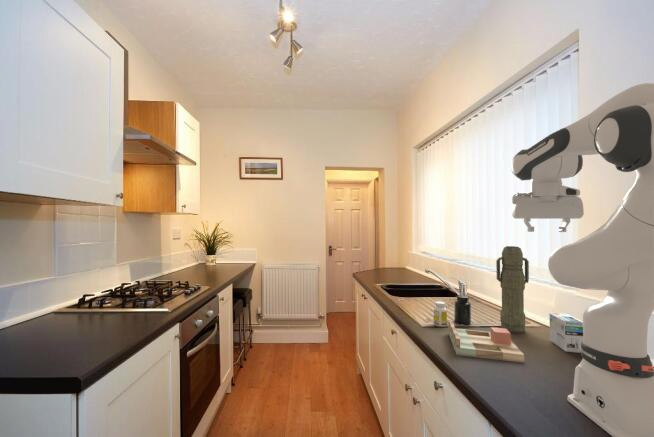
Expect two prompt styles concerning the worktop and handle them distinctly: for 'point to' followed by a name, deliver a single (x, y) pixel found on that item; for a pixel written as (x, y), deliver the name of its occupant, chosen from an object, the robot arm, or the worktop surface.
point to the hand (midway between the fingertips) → (546, 231)
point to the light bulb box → (566, 332)
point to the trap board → (482, 345)
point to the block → (500, 336)
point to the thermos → (512, 288)
